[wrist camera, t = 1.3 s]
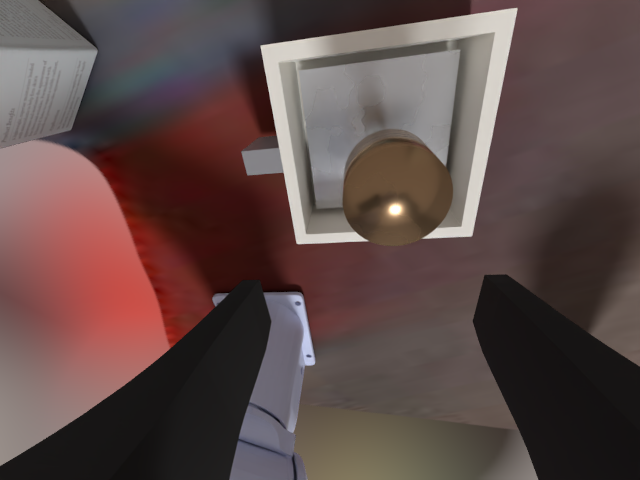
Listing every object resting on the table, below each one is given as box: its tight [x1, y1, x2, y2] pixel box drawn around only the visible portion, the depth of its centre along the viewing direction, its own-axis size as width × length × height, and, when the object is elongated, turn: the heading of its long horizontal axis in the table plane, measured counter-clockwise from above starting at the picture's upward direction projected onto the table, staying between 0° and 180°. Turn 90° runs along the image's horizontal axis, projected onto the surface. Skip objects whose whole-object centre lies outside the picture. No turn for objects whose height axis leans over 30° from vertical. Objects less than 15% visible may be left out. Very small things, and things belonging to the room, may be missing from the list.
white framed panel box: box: [241, 8, 518, 244], centre depth 15 cm, size 9×11×4 cm
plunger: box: [299, 49, 461, 246], centre depth 12 cm, size 7×7×8 cm
